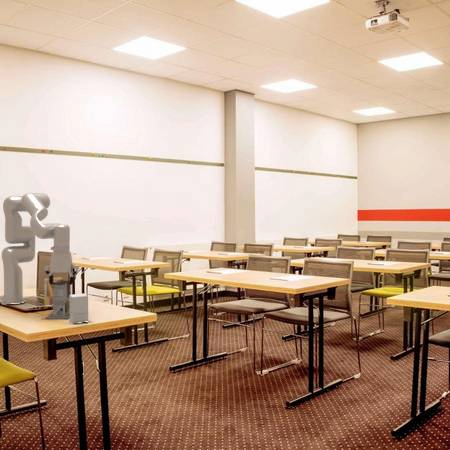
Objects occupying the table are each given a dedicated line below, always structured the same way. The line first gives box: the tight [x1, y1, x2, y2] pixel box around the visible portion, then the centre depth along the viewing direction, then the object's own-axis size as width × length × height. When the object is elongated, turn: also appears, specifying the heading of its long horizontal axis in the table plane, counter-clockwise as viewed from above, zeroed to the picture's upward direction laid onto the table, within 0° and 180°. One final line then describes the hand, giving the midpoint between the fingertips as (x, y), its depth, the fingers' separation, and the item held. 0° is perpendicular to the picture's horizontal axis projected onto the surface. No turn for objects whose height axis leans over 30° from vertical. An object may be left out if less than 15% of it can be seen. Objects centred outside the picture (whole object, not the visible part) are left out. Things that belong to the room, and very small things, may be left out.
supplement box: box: [69, 293, 89, 324], centre depth 239 cm, size 7×7×13 cm
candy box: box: [43, 277, 64, 306], centre depth 274 cm, size 9×4×15 cm, turn 129°
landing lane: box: [41, 311, 70, 320], centre depth 253 cm, size 13×18×1 cm
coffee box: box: [52, 280, 72, 316], centre depth 253 cm, size 9×6×16 cm
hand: (61, 284), depth 253 cm, fingers open, 9 cm apart
